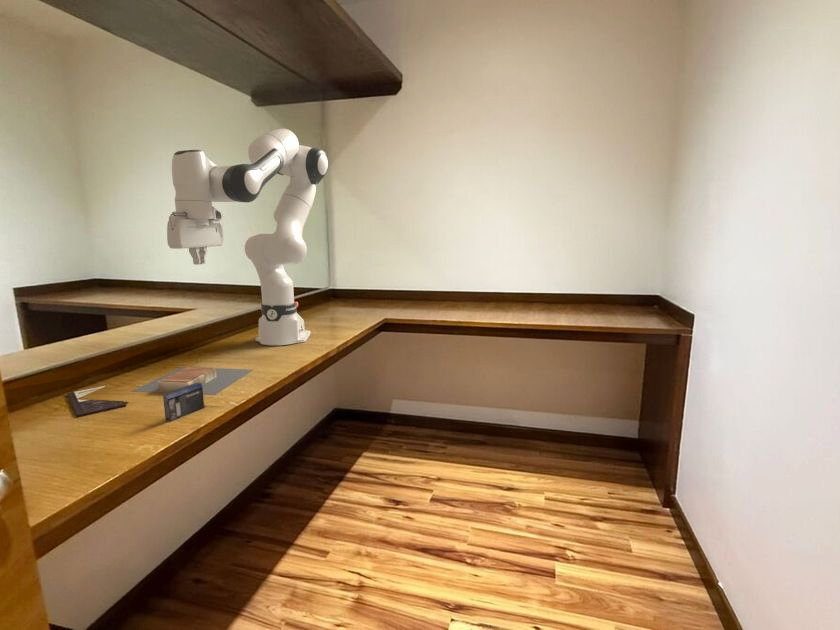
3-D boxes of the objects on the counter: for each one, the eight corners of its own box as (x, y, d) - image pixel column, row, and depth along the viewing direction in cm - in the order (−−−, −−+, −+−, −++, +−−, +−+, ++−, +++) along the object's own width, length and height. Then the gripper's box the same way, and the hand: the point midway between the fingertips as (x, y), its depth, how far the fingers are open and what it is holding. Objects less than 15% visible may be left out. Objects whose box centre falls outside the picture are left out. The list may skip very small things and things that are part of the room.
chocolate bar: (76, 415, 93) (67, 393, 106) (77, 419, 94) (67, 396, 106) (125, 404, 99) (111, 384, 112) (126, 408, 100) (112, 388, 112)
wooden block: (187, 366, 118) (157, 380, 107) (215, 367, 118) (188, 382, 106) (188, 375, 119) (158, 391, 107) (216, 377, 118) (189, 392, 106)
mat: (182, 368, 127) (181, 366, 127) (254, 371, 125) (253, 369, 125) (130, 393, 107) (130, 391, 107) (215, 397, 105) (215, 394, 105)
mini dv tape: (170, 422, 92) (167, 395, 91) (165, 420, 92) (162, 394, 91) (204, 408, 99) (202, 383, 98) (199, 407, 100) (197, 382, 98)
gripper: (181, 211, 106) (186, 267, 109) (225, 214, 126) (229, 261, 129) (157, 211, 107) (163, 267, 110) (205, 214, 127) (209, 261, 130)
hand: (199, 264), depth 119 cm, fingers closed
